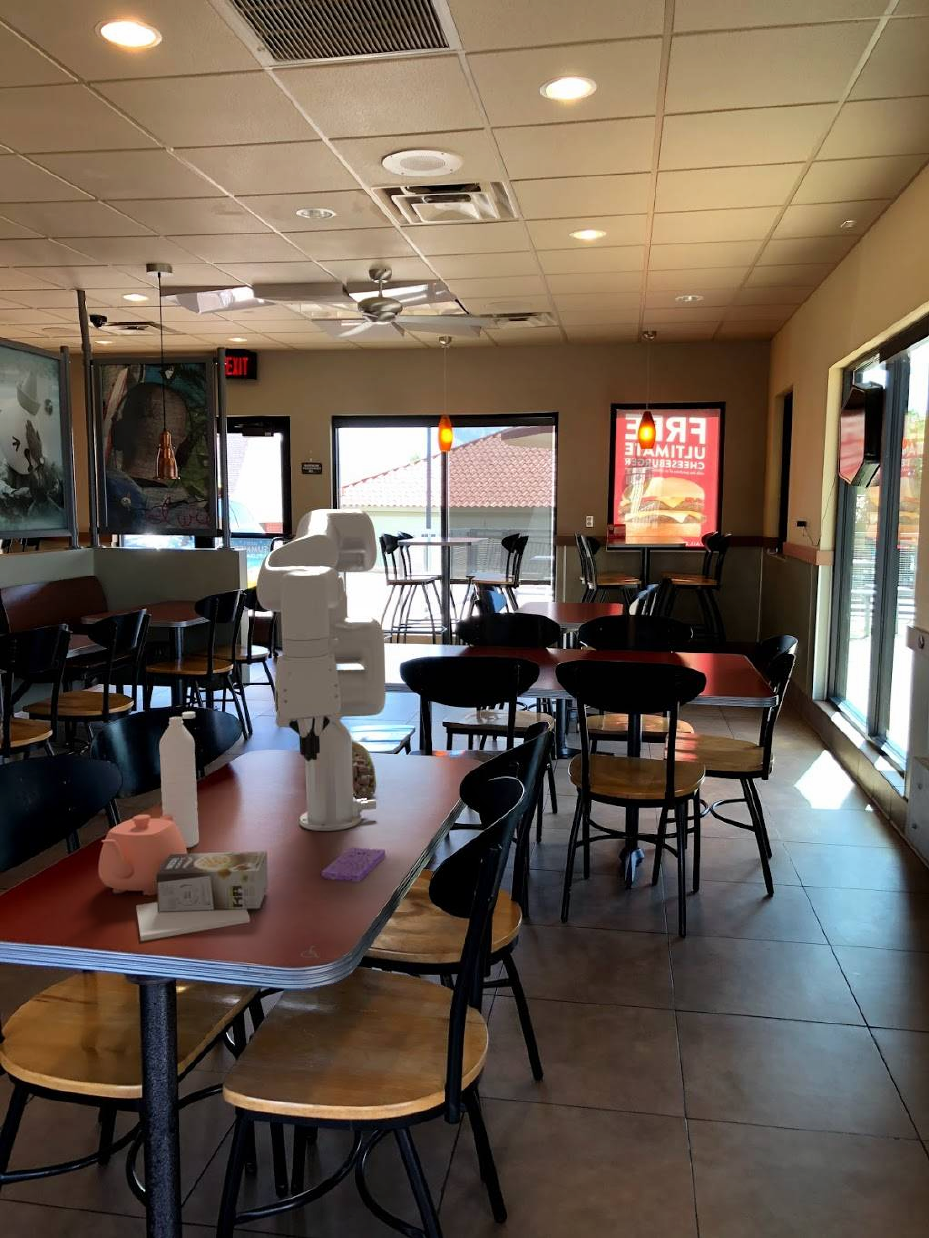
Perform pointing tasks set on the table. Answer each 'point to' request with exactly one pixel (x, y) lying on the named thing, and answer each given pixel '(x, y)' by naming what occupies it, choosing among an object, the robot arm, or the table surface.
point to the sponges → (354, 864)
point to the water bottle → (180, 778)
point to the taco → (362, 772)
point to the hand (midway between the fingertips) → (310, 758)
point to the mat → (184, 920)
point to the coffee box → (212, 881)
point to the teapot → (138, 853)
